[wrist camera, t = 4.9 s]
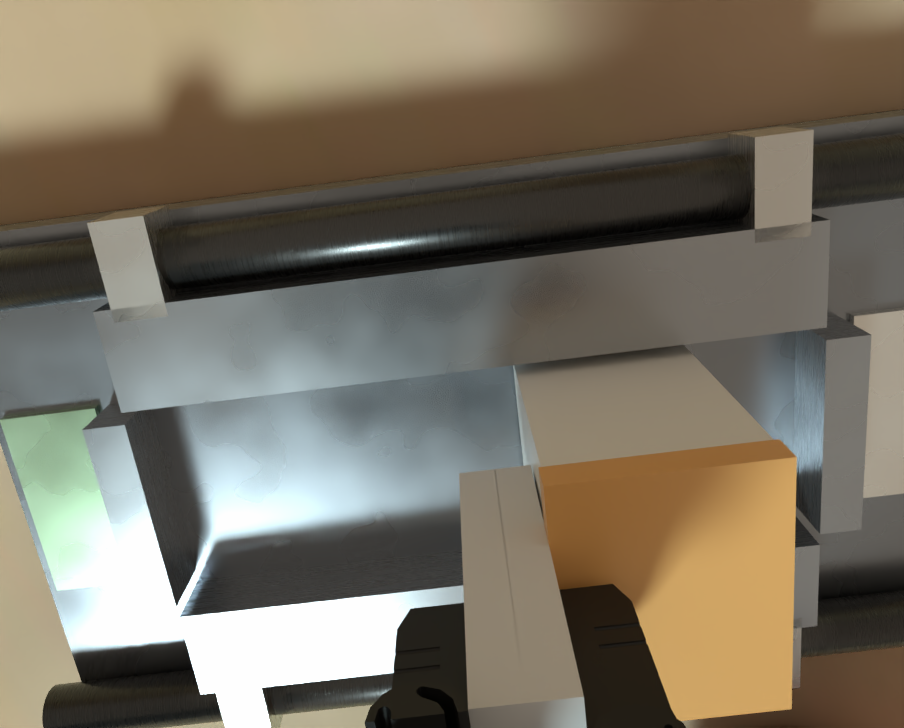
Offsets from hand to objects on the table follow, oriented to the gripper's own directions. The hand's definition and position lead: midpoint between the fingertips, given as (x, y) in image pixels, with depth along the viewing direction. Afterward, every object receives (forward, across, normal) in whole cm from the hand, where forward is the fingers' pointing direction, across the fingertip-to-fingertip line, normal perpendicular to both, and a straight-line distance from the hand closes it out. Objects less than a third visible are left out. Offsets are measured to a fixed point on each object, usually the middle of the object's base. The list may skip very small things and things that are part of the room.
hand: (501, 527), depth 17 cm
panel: (+5, 0, 0) cm, 5 cm away
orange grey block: (+4, +3, 0) cm, 5 cm away
